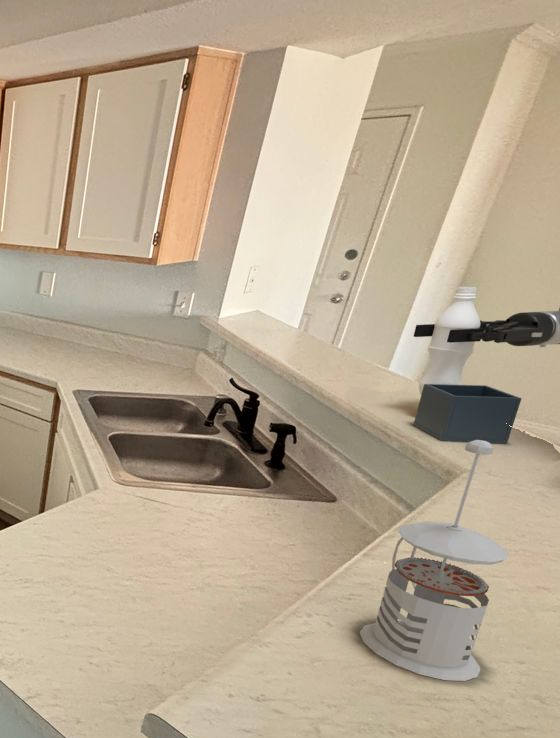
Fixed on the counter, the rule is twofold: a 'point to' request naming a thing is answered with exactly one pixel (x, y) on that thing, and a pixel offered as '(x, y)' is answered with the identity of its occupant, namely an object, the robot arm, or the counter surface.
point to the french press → (435, 597)
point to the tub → (466, 413)
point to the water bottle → (453, 355)
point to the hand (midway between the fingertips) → (432, 333)
